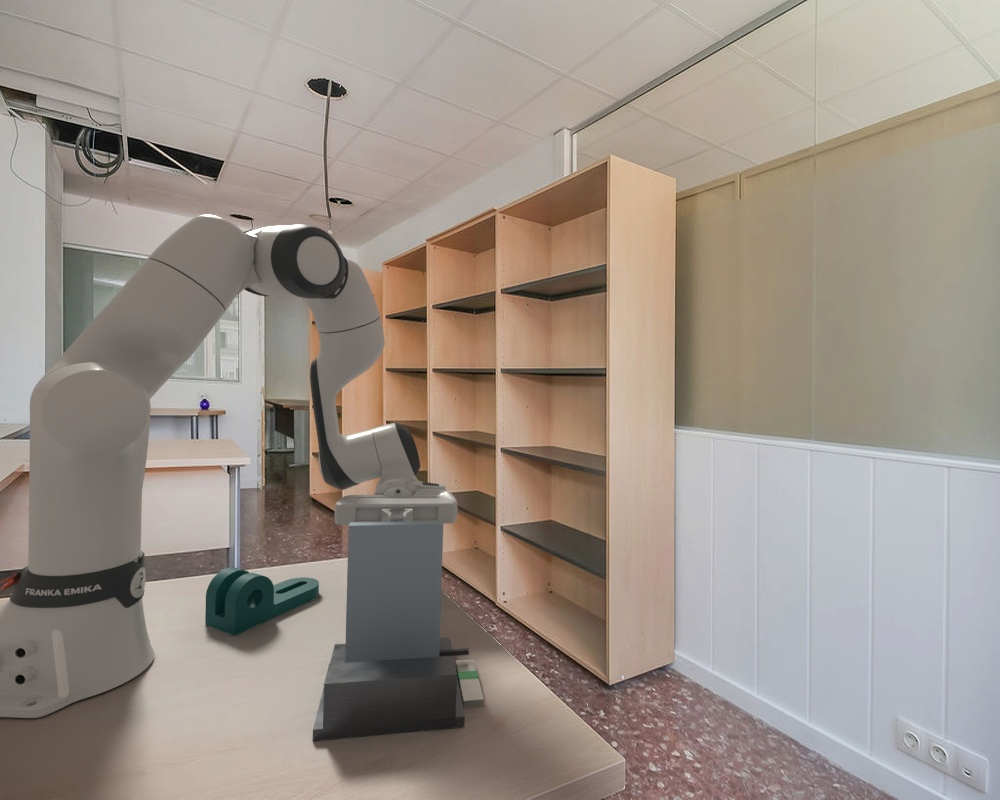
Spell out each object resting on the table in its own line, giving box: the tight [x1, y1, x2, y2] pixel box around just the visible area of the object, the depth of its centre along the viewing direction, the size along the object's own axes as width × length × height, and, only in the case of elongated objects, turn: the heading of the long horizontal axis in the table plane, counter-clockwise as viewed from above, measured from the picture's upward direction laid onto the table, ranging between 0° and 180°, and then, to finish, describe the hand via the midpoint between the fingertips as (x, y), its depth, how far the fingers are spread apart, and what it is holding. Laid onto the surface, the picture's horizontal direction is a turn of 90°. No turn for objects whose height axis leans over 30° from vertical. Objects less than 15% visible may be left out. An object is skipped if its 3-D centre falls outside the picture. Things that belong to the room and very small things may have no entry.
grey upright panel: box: [344, 521, 470, 663], centre depth 68 cm, size 16×2×18 cm, turn 101°
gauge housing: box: [312, 637, 485, 742], centre depth 65 cm, size 19×18×6 cm
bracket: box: [204, 566, 320, 637], centre depth 85 cm, size 18×7×8 cm, turn 153°
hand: (396, 521), depth 81 cm, fingers closed
